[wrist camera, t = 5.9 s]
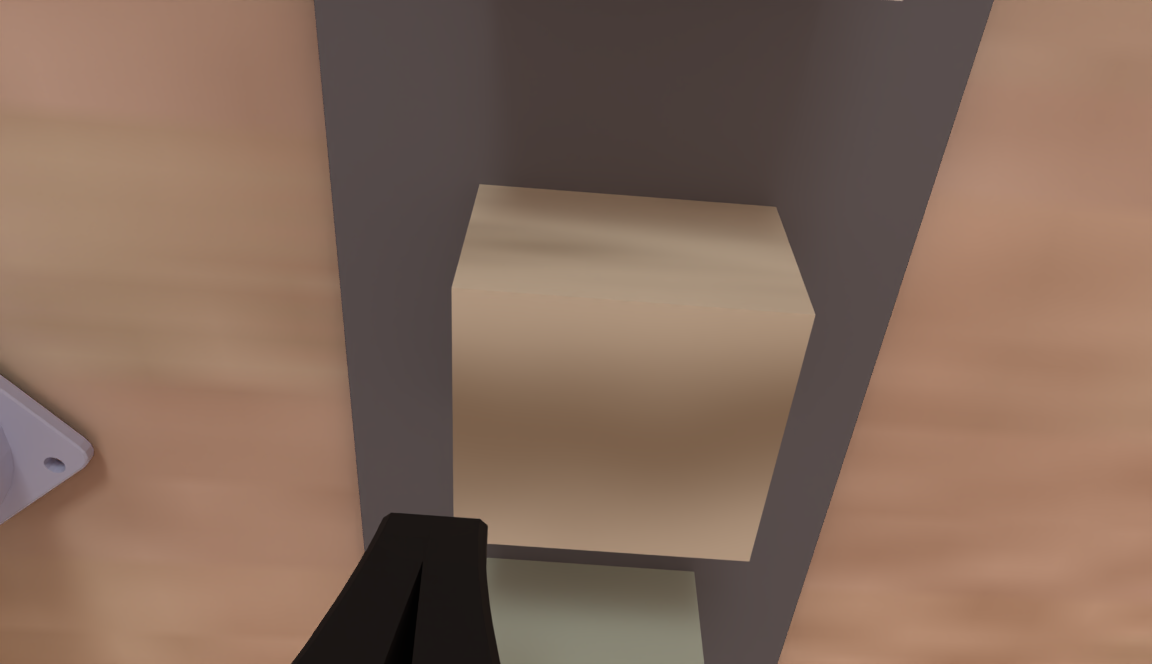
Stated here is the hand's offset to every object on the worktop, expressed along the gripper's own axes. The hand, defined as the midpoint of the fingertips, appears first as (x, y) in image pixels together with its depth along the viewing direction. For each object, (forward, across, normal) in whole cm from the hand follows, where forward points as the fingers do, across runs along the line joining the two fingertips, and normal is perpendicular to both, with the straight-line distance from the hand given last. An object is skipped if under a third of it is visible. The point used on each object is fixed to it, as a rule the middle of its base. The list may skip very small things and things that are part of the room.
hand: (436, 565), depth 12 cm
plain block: (+8, -3, +1) cm, 8 cm away
